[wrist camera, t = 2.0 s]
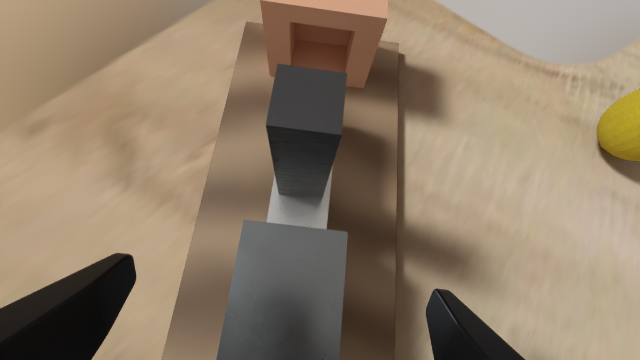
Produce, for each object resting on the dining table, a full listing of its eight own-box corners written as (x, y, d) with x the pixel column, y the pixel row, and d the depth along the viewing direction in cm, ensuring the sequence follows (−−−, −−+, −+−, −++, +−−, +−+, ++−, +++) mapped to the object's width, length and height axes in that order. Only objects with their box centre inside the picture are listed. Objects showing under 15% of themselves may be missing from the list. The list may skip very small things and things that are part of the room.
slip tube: (293, 513, 14) (289, 1049, 4) (227, 508, 14) (61, 1044, 4) (334, 106, 22) (367, -40, 12) (292, 101, 22) (289, -52, 12)
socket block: (363, 88, 25) (387, 18, 19) (269, 75, 25) (260, 0, 18) (366, 42, 27) (389, -36, 20) (278, 30, 27) (273, -54, 20)
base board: (386, 531, 16) (391, 546, 15) (130, 510, 16) (120, 524, 15) (395, 51, 28) (398, 43, 27) (247, 30, 28) (246, 21, 27)
